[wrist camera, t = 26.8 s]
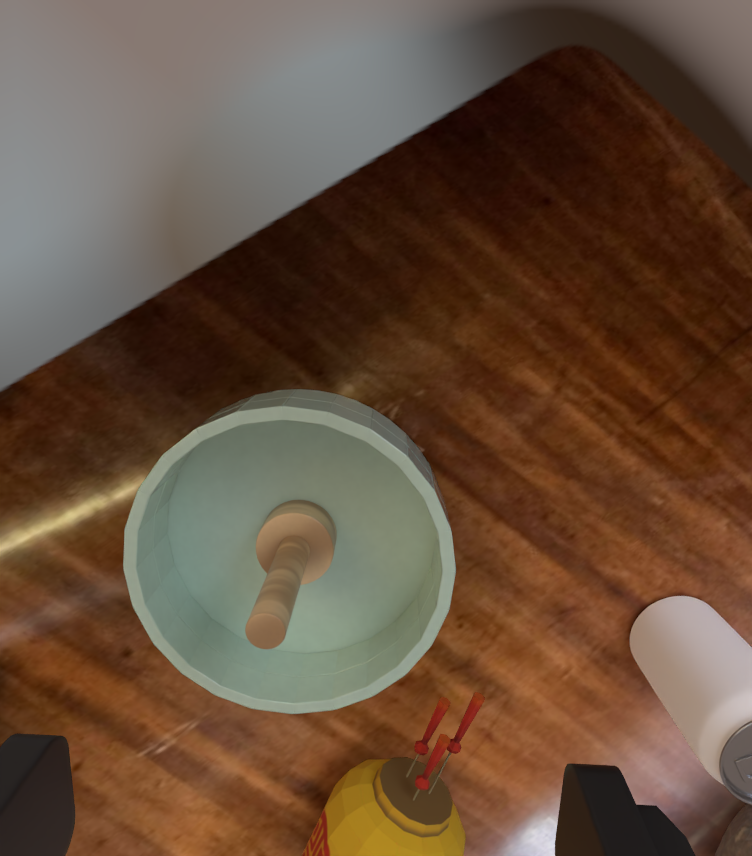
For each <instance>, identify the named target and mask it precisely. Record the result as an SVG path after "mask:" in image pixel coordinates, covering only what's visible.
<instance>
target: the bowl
mask: <svg viewBox="0 0 752 856" xmlns="http://www.w3.org/2000/svg"><path fill="white" fill-rule="evenodd" d="M715 856H752V805H750V804H746V805H745V806H744V807H743V808H742V809H741V810H740V811H739V812H738V813H737V815H736V816H735V818H734V819H733V820H732V821H731V823H730V824H729V826H728V828H727V830H726V832H725V834H724V835H723V838H722V841H721V843H720V845H719V847H718V849H717V851H716V854H715Z"/></svg>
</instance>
